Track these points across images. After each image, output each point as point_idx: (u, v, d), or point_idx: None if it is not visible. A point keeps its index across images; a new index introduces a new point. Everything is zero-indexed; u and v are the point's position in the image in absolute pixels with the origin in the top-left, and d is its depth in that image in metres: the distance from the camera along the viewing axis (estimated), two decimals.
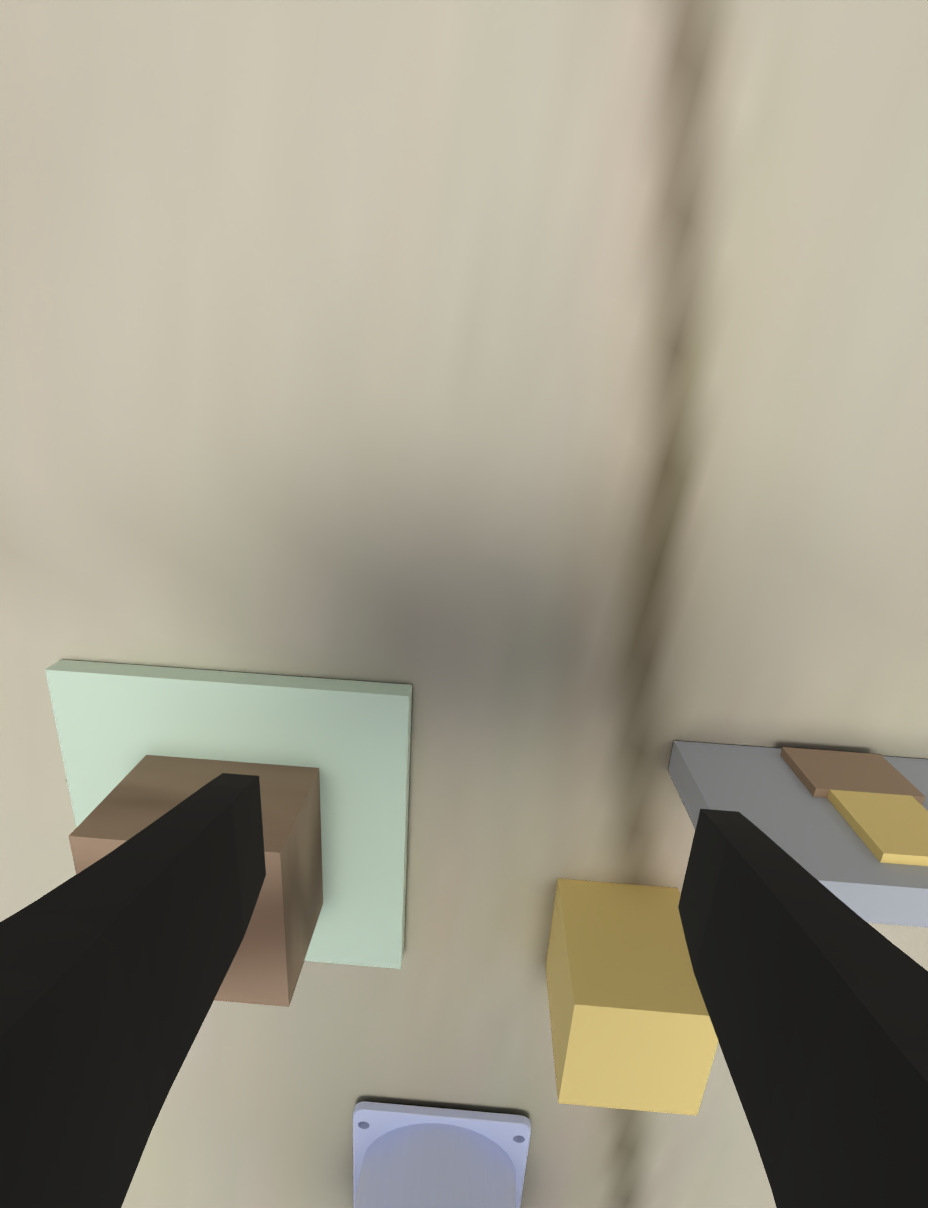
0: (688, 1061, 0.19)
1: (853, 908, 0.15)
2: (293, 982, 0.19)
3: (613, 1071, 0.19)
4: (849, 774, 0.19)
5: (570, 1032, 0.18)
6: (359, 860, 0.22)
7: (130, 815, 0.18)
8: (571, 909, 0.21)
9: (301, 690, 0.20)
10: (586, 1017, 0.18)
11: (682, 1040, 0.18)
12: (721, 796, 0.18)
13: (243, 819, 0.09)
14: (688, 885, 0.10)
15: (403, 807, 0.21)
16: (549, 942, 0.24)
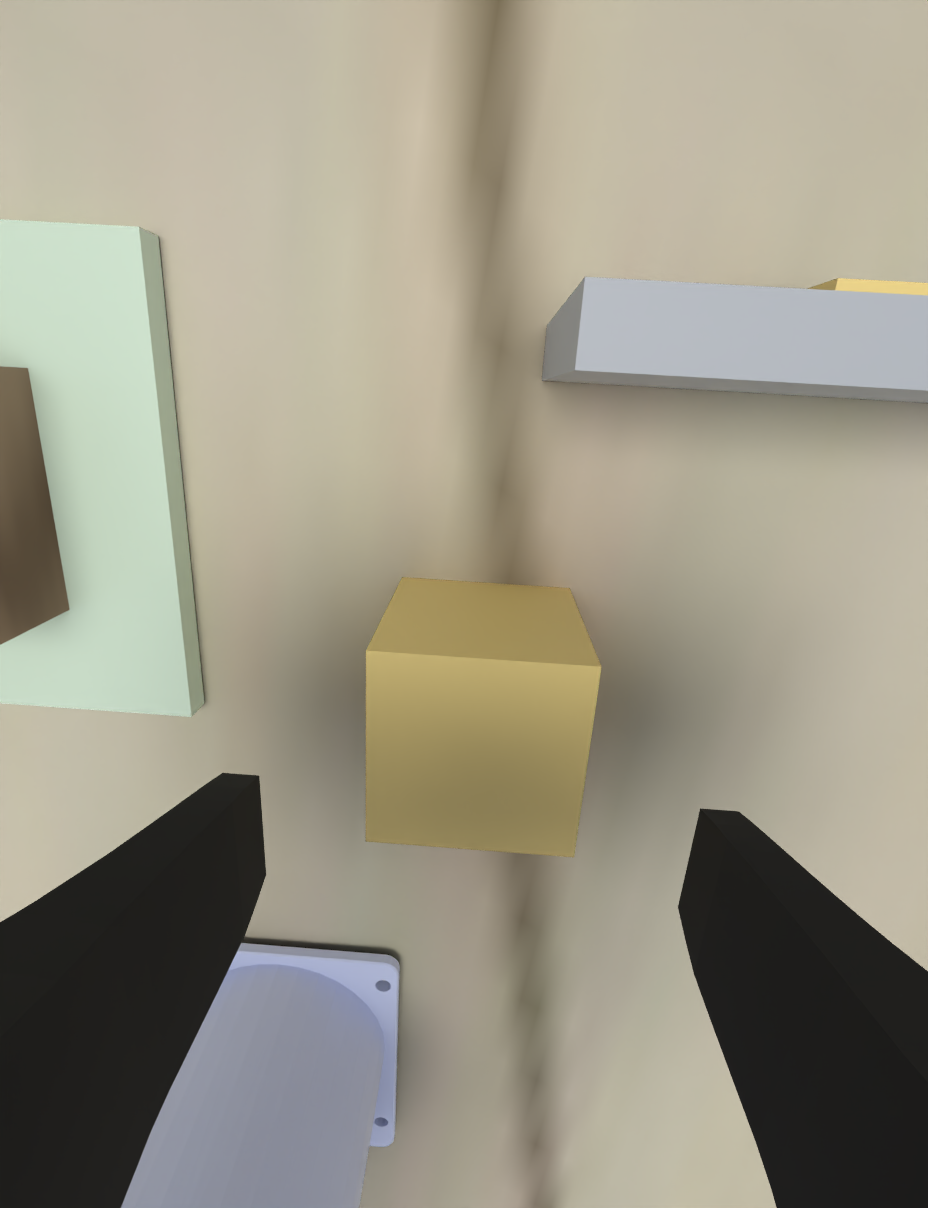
0: (552, 754, 0.12)
1: (783, 349, 0.08)
2: None
3: (440, 779, 0.12)
4: None
5: (367, 707, 0.12)
6: (109, 533, 0.15)
7: None
8: (408, 594, 0.15)
9: None
10: (387, 675, 0.12)
11: (539, 715, 0.12)
12: None
13: (243, 819, 0.09)
14: (688, 885, 0.10)
15: (157, 435, 0.14)
16: None
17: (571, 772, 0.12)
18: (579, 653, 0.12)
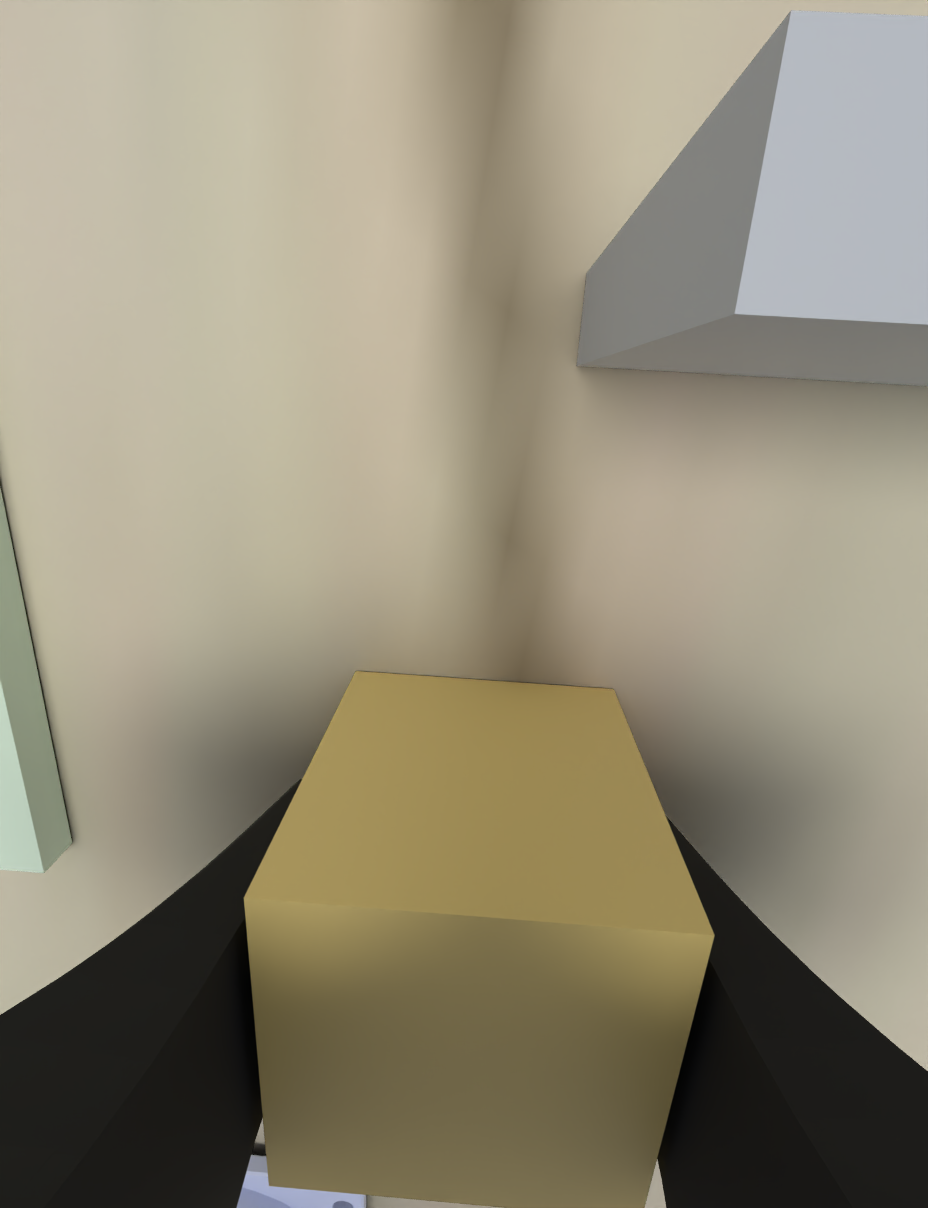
0: (609, 1072, 0.06)
1: None
2: None
3: (398, 1102, 0.07)
4: None
5: (254, 988, 0.06)
6: None
7: None
8: (357, 714, 0.09)
9: None
10: (289, 940, 0.06)
11: (586, 1010, 0.06)
12: None
13: None
14: None
15: None
16: None
17: (643, 1100, 0.06)
18: (662, 883, 0.06)
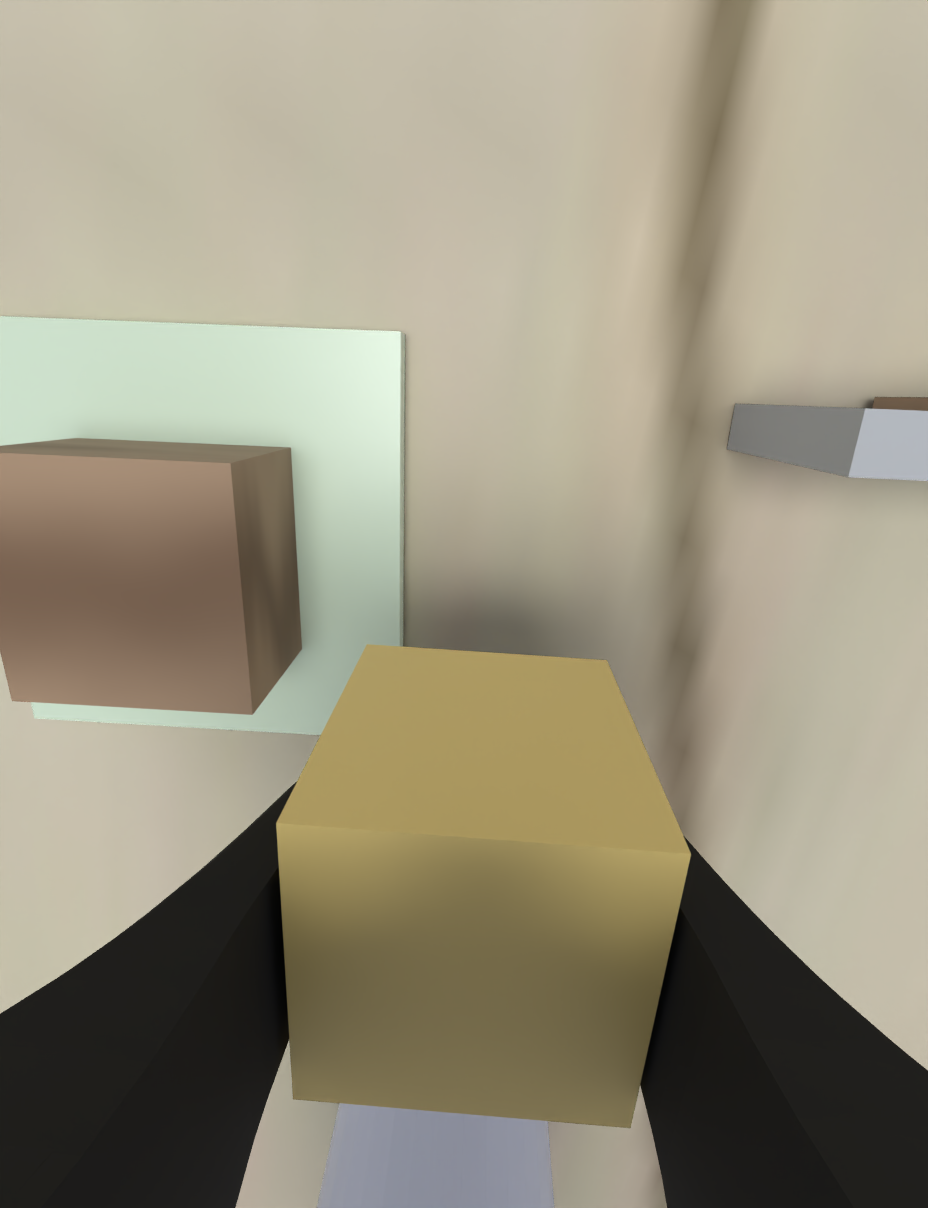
0: (599, 984, 0.07)
1: None
2: (258, 690, 0.15)
3: (411, 1016, 0.07)
4: None
5: (284, 909, 0.07)
6: (345, 583, 0.18)
7: (40, 449, 0.14)
8: (369, 680, 0.10)
9: (264, 331, 0.15)
10: (315, 863, 0.07)
11: (579, 927, 0.07)
12: None
13: None
14: None
15: (397, 501, 0.17)
16: None
17: (631, 1011, 0.07)
18: (646, 815, 0.07)
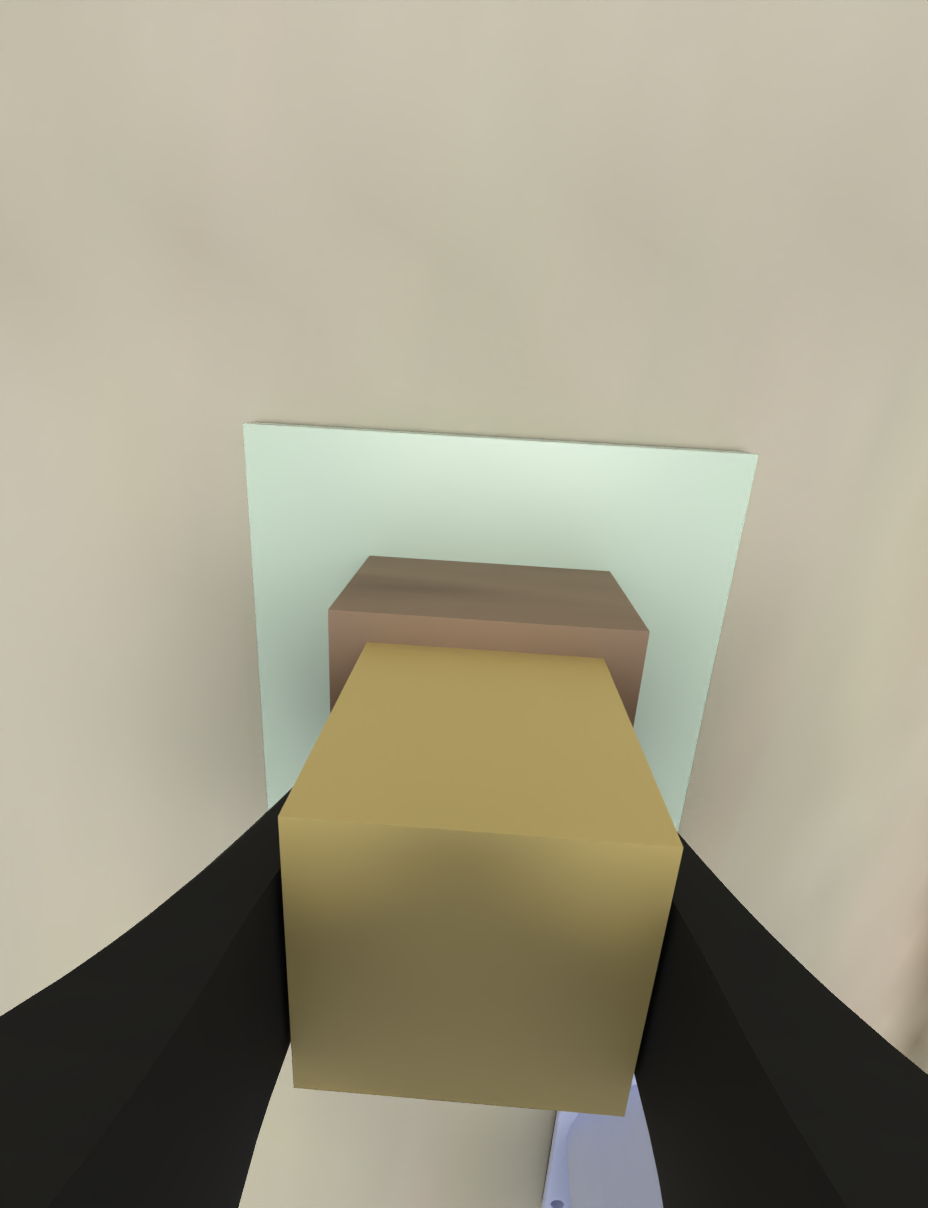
0: (593, 976, 0.07)
1: None
2: None
3: (409, 1006, 0.08)
4: None
5: (285, 901, 0.07)
6: (642, 711, 0.16)
7: (398, 596, 0.12)
8: (369, 677, 0.10)
9: (603, 450, 0.14)
10: (316, 855, 0.07)
11: (574, 918, 0.07)
12: None
13: None
14: None
15: (718, 630, 0.15)
16: None
17: (624, 1002, 0.07)
18: (639, 810, 0.07)
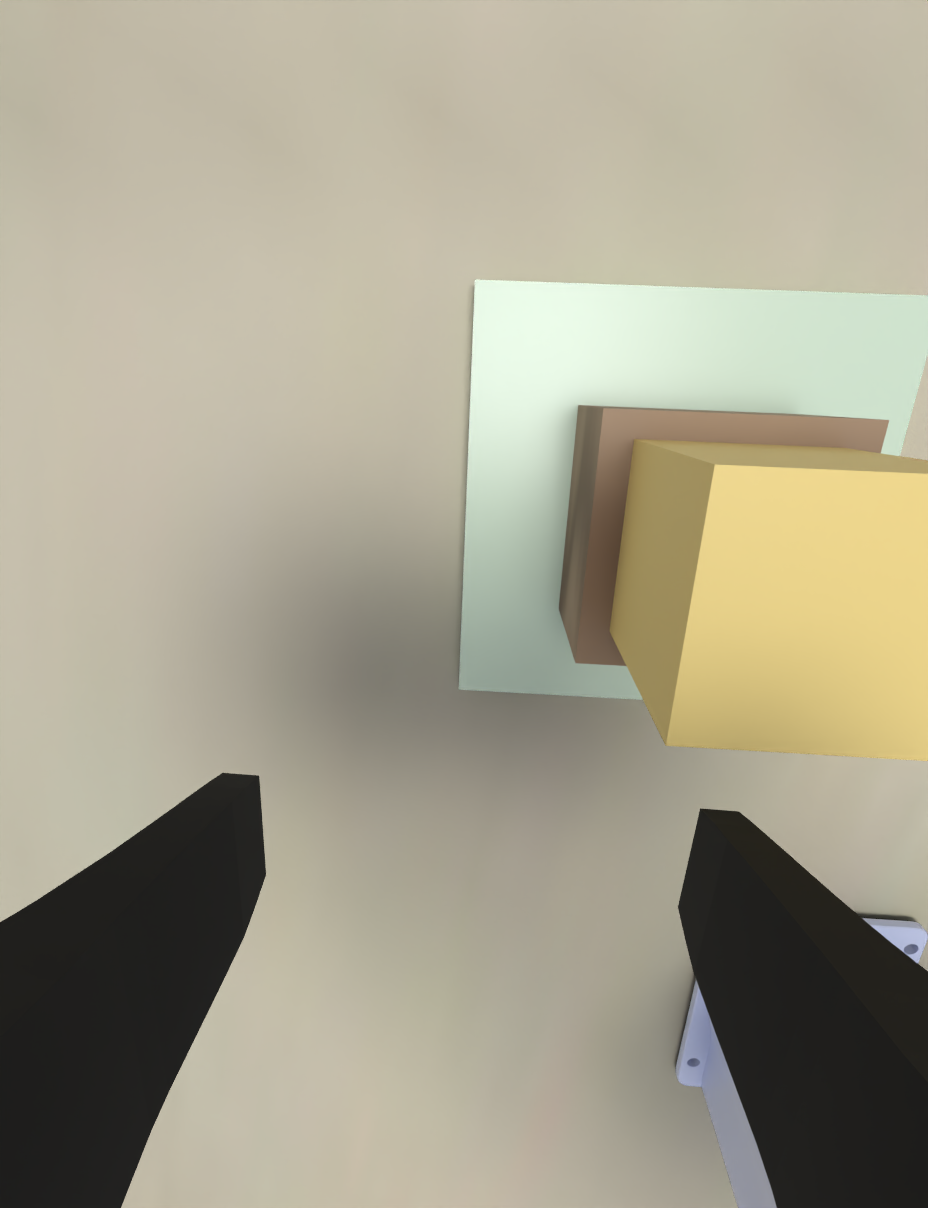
0: None
1: None
2: None
3: (785, 653, 0.09)
4: None
5: (700, 551, 0.09)
6: None
7: (647, 409, 0.14)
8: (668, 445, 0.12)
9: (801, 296, 0.15)
10: (738, 502, 0.08)
11: None
12: None
13: (243, 819, 0.09)
14: (688, 885, 0.10)
15: None
16: (617, 578, 0.14)
17: None
18: None
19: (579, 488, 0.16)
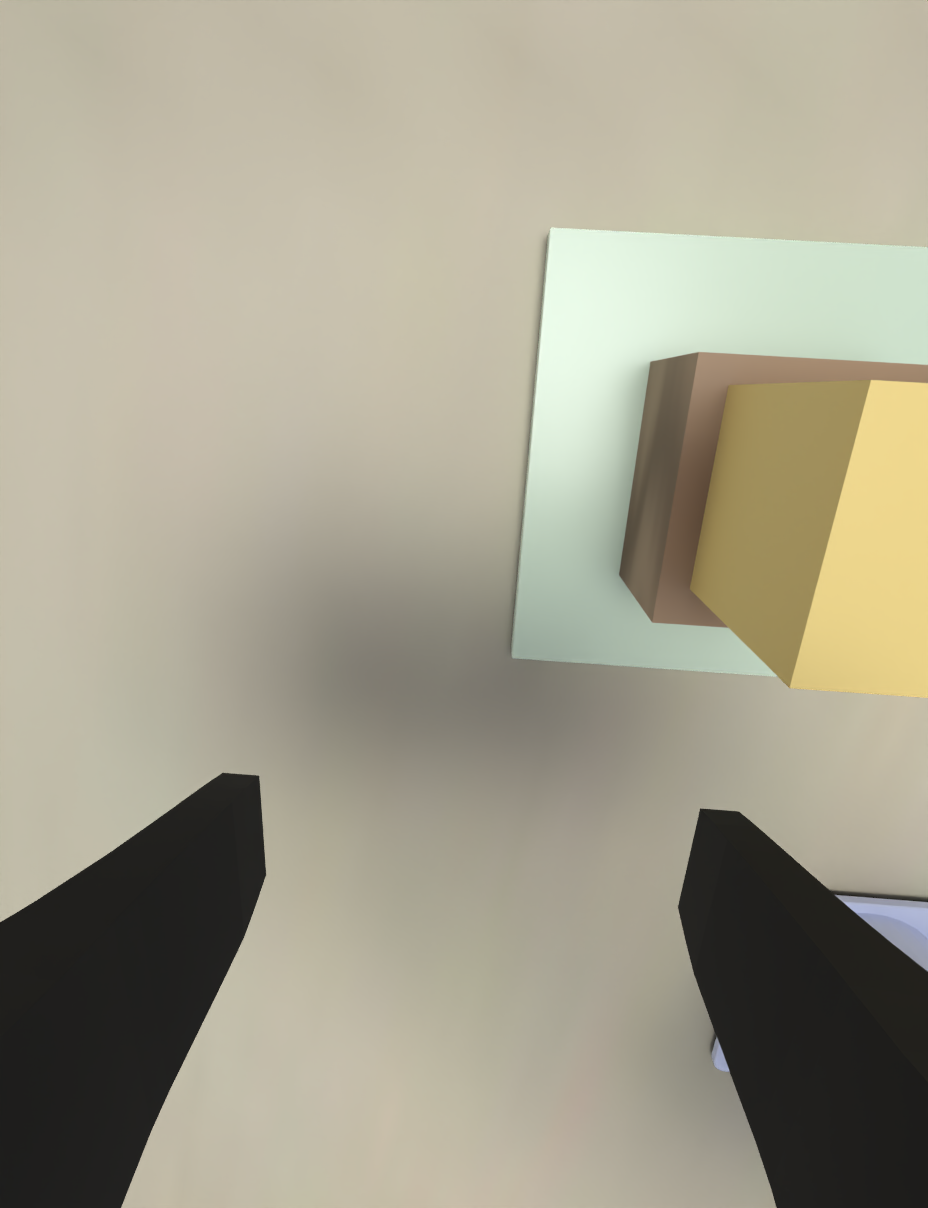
0: None
1: None
2: None
3: (925, 589, 0.09)
4: None
5: (846, 475, 0.08)
6: None
7: None
8: None
9: (886, 250, 0.15)
10: (892, 422, 0.08)
11: None
12: None
13: (243, 819, 0.09)
14: (688, 885, 0.10)
15: None
16: (703, 533, 0.13)
17: None
18: None
19: (654, 444, 0.15)
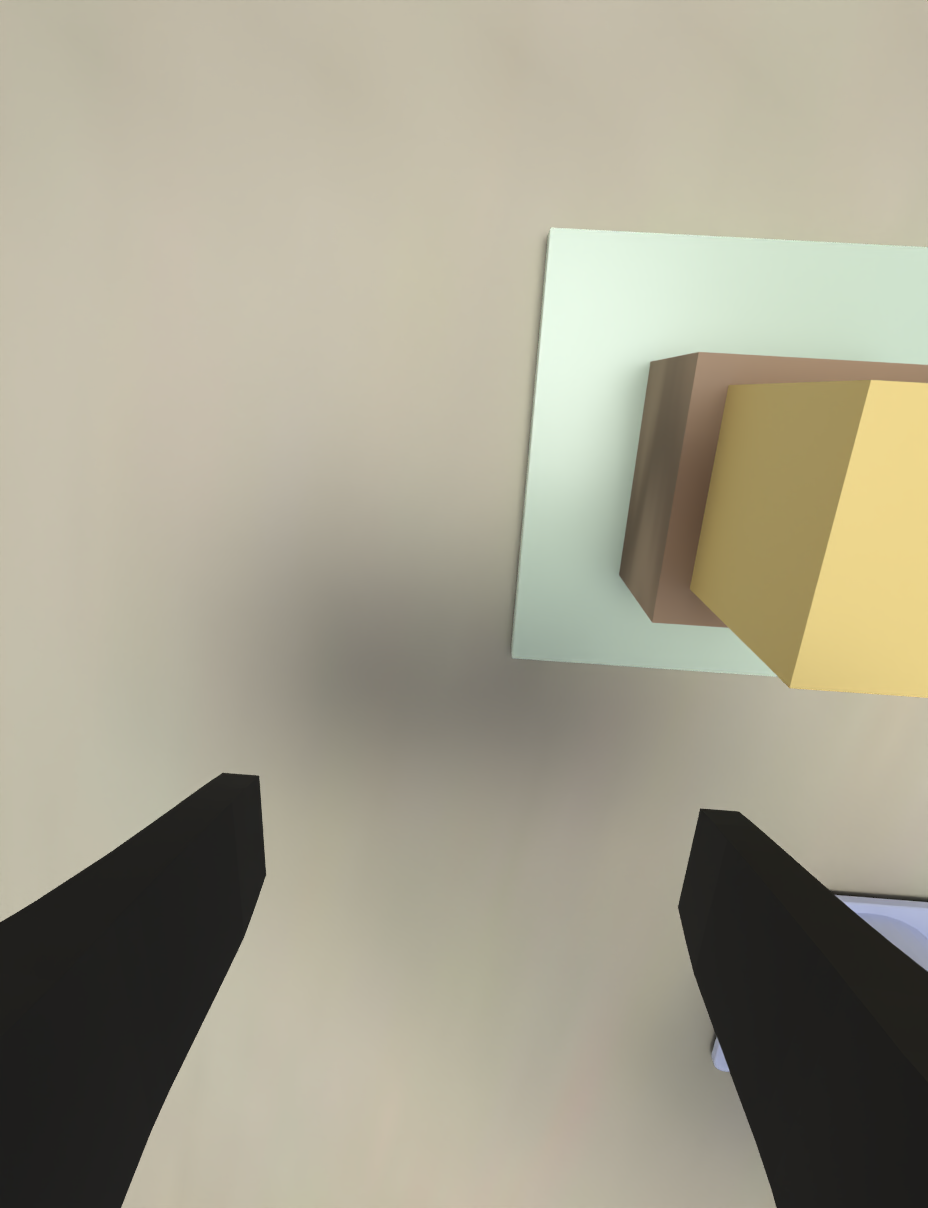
0: None
1: None
2: None
3: (925, 589, 0.09)
4: None
5: (846, 475, 0.08)
6: None
7: None
8: None
9: (886, 250, 0.15)
10: (892, 422, 0.08)
11: None
12: None
13: (243, 819, 0.09)
14: (688, 885, 0.10)
15: None
16: (703, 533, 0.13)
17: None
18: None
19: (654, 444, 0.15)
